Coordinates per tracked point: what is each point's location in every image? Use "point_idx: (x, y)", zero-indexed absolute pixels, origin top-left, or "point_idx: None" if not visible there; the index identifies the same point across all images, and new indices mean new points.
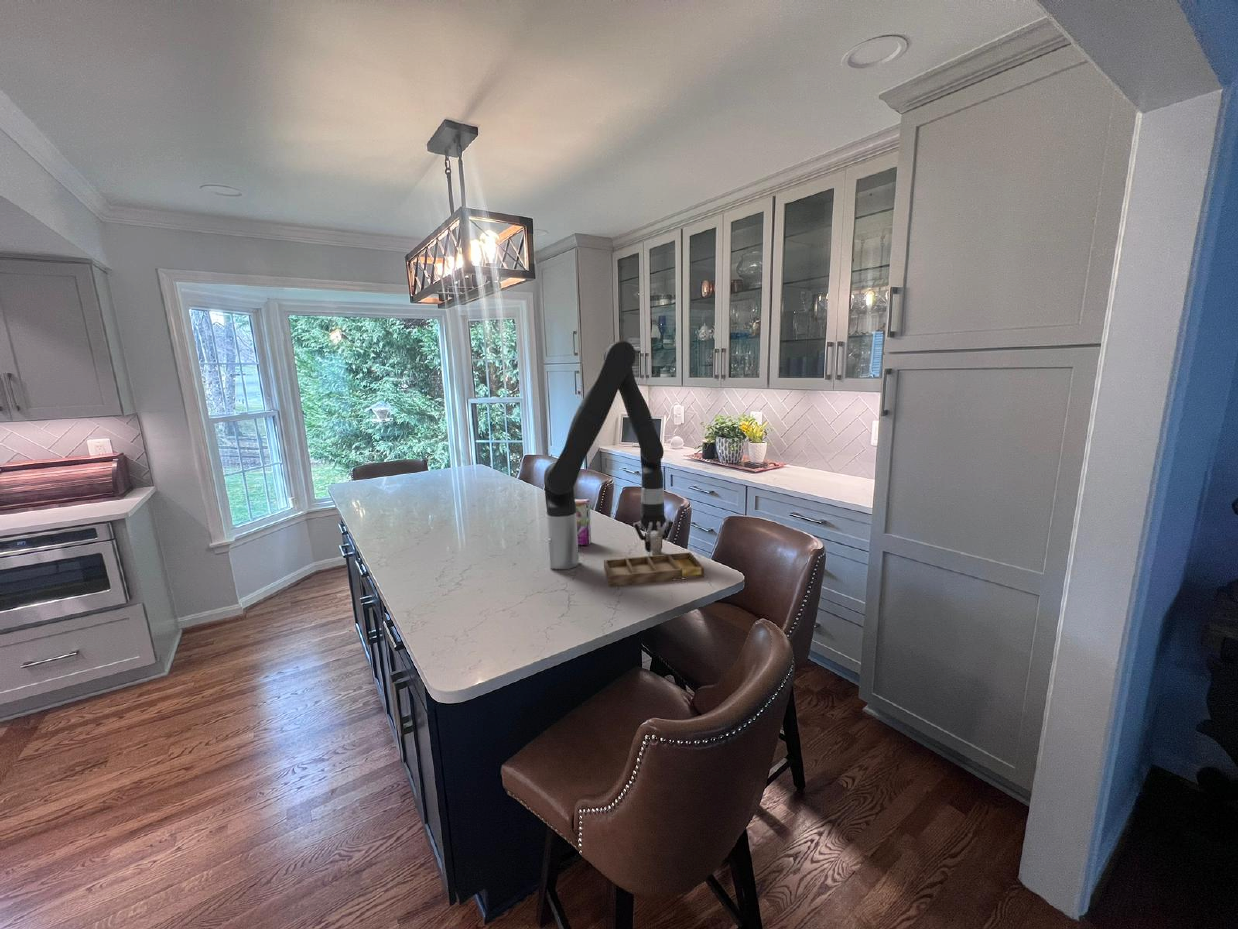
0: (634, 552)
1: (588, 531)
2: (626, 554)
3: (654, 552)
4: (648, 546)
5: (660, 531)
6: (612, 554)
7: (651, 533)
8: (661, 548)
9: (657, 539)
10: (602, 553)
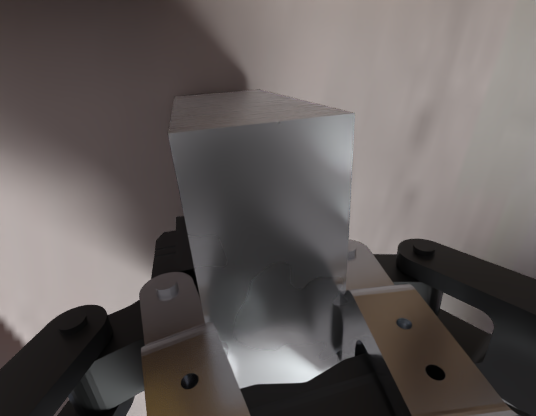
0: None
1: None
2: (397, 245)
3: (254, 95)
4: None
5: (168, 371)
6: (464, 248)
7: (299, 375)
8: (165, 236)
9: (246, 122)
10: (500, 264)
